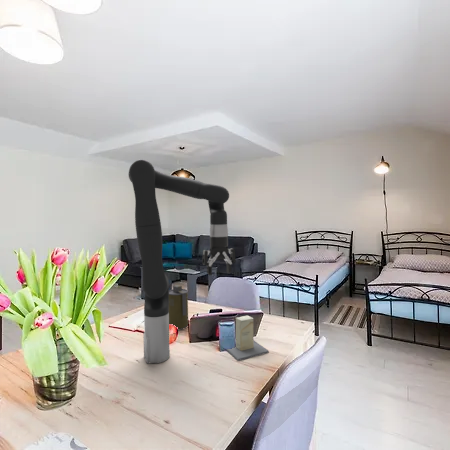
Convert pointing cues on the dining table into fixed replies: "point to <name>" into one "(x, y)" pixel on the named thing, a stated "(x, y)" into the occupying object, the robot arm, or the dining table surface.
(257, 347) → the mat
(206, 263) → the robot arm
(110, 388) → the dining table surface
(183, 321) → the canister
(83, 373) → the dining table surface
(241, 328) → the skincare box
